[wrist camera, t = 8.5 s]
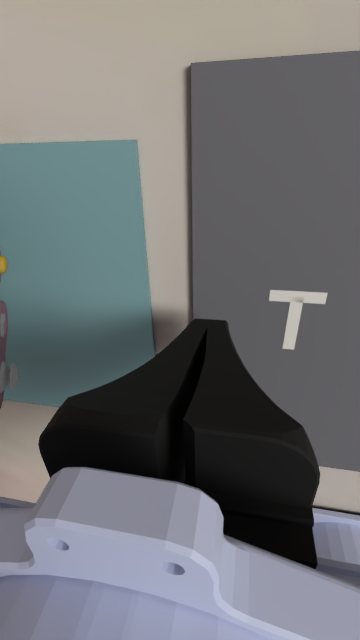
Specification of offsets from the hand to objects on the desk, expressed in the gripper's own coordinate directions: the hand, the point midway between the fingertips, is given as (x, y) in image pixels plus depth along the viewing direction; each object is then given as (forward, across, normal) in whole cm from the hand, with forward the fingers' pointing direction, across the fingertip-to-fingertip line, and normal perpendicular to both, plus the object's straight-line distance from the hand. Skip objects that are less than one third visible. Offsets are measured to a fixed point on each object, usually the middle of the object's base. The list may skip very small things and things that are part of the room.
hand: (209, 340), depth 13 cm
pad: (+2, +8, 0) cm, 9 cm away
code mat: (+2, -6, 0) cm, 6 cm away
